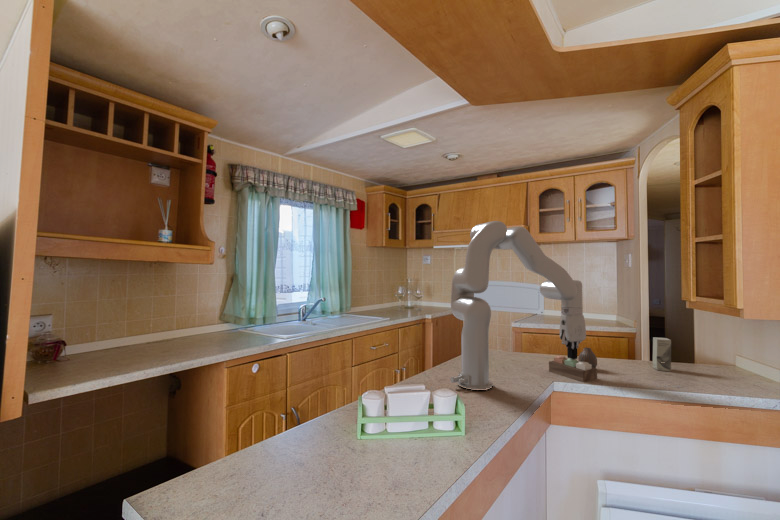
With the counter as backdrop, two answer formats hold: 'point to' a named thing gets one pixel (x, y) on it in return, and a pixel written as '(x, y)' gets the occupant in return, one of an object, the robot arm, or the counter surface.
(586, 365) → the cream button
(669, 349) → the box
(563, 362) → the terracotta button
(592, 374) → the brown tray
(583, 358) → the vase
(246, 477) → the counter surface
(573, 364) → the sage button
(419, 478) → the counter surface
